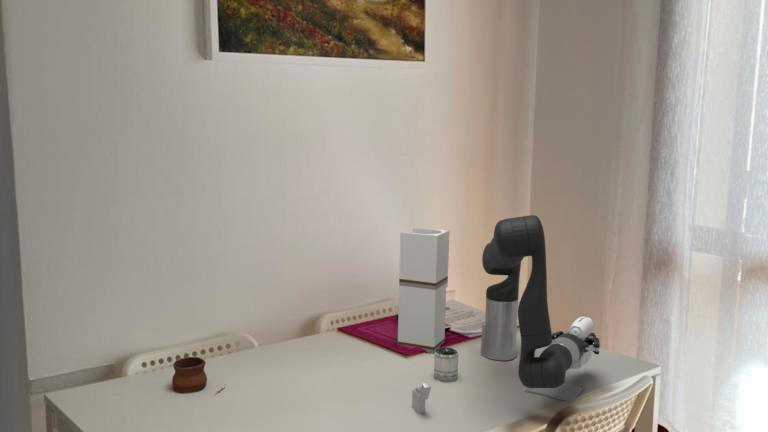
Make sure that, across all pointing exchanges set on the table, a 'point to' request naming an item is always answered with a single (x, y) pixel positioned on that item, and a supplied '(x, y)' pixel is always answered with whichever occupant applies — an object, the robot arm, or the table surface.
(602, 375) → the table surface
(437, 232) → the tall white banded vase
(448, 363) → the camera lens
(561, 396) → the felt pad
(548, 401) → the table surface
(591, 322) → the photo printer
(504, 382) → the table surface
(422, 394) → the lighter
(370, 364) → the table surface
